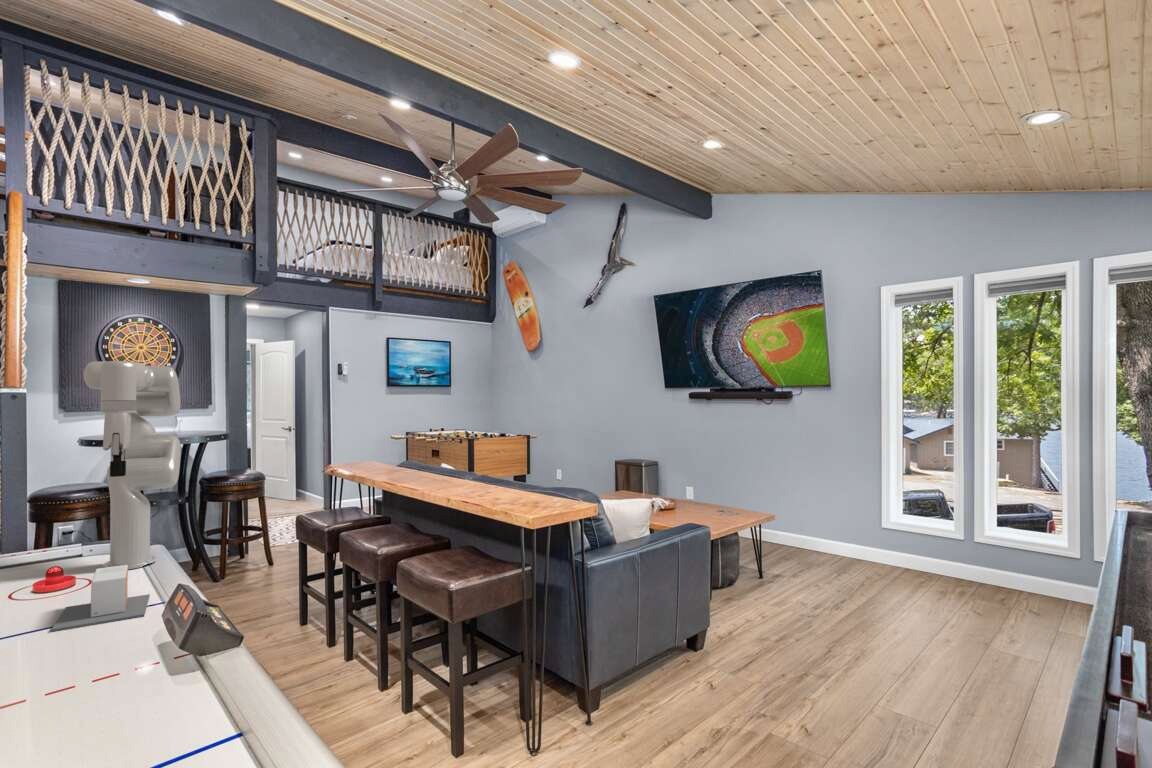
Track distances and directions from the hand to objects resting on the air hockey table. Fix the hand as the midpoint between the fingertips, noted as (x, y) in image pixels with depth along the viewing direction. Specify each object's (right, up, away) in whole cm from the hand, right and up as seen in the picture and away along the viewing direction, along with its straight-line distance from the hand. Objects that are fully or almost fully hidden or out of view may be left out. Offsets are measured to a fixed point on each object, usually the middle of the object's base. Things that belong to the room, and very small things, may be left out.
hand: (117, 475), depth 155 cm
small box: (+8, -24, -12) cm, 28 cm away
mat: (+13, -29, -20) cm, 37 cm away
